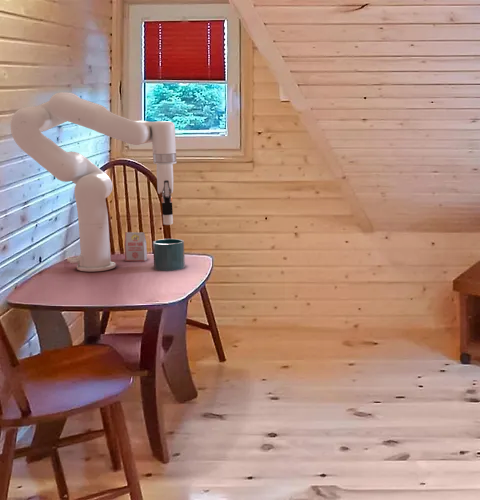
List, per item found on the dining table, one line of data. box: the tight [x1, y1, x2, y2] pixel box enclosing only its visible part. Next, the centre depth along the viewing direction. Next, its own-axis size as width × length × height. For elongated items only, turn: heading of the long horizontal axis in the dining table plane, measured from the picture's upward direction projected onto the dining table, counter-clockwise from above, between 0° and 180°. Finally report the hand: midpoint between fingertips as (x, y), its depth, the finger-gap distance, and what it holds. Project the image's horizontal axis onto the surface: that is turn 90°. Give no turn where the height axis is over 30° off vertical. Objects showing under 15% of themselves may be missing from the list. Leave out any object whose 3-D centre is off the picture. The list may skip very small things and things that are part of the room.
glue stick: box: [161, 196, 174, 226], centre depth 257 cm, size 3×3×9 cm
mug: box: [152, 238, 186, 272], centre depth 262 cm, size 14×10×9 cm
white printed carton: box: [124, 231, 148, 262], centre depth 271 cm, size 4×7×10 cm, turn 90°
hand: (167, 213), depth 257 cm, fingers closed on glue stick, 3 cm apart
